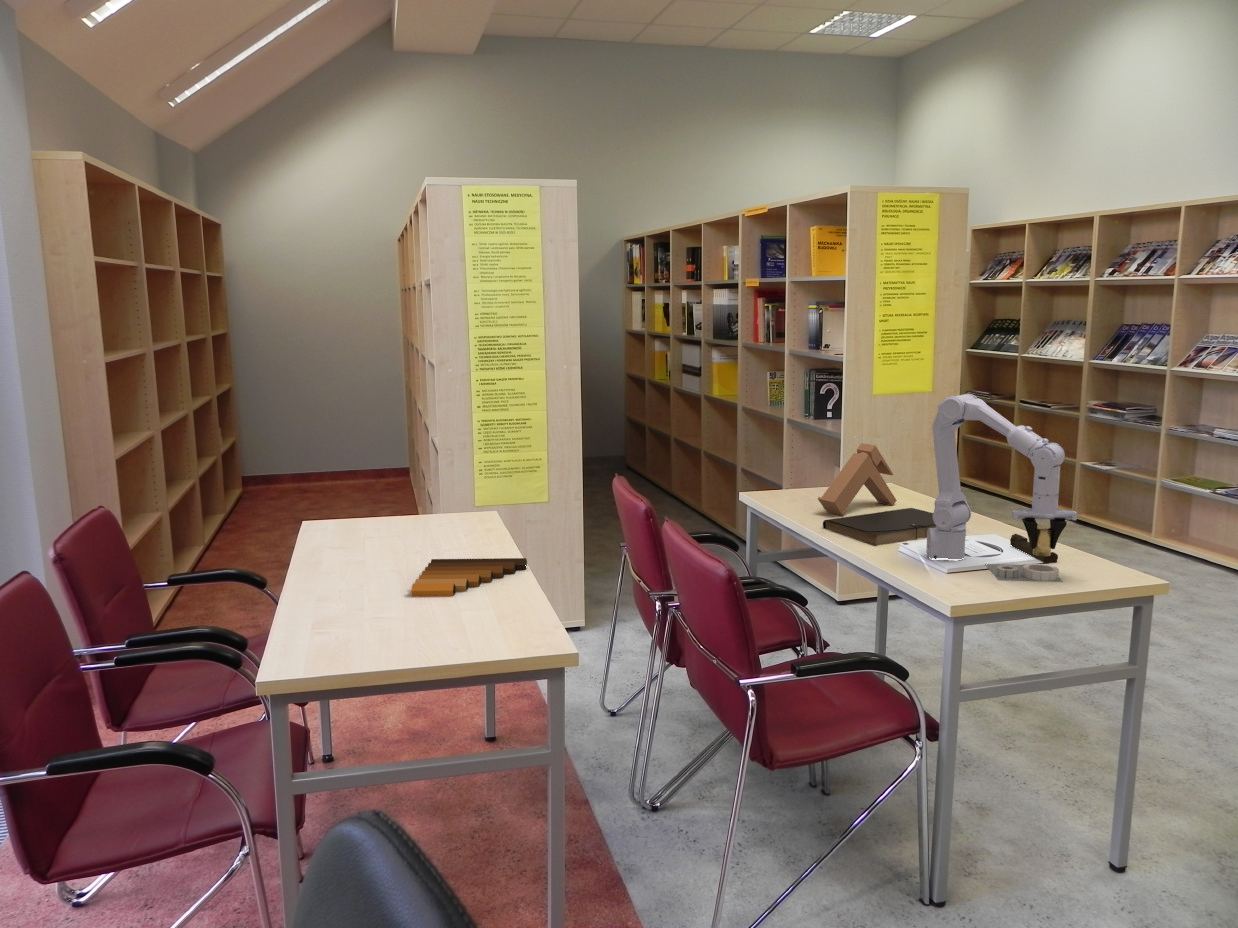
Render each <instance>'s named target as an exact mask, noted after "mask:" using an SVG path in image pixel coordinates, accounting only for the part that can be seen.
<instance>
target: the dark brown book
mask: <svg viewBox="0 0 1238 928" xmlns="http://www.w3.org/2000/svg"><path fill="white" fill-rule="evenodd" d="M936 527H937V526H936V525H935V523H934V521H933V512H929V511H926V510H923V509H919V508H918V509H917V508H915V507H907V508H900V509H894V510H887V511H879V512H872V513H865V514H857V515H849V516H844V517H843V516H842V517H838V518H836V517H835V518H830V519H824V520H823V521H822V528H823V529H825V530H828V531H831V532H834V533H837V534H839V535H842V536H844V537H849V538H850V539H854V540H857V541H861V542H863V543H866V544H869V545H873V546H875V547H877V546H883V545H889V544H895V543H901V542H908V541H913V540H916V541H917V540H918V539H927V532H928V529H929V528H936Z"/></svg>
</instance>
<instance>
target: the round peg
mask: <svg viewBox="0 0 1238 928" xmlns="http://www.w3.org/2000/svg"><path fill="white" fill-rule="evenodd" d="M1051 540H1052V528H1050V526H1049V527H1048V526H1037V531H1036V546H1035V549H1033V554H1034V555H1037V556H1050V555H1051V552H1052V549H1051Z"/></svg>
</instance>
